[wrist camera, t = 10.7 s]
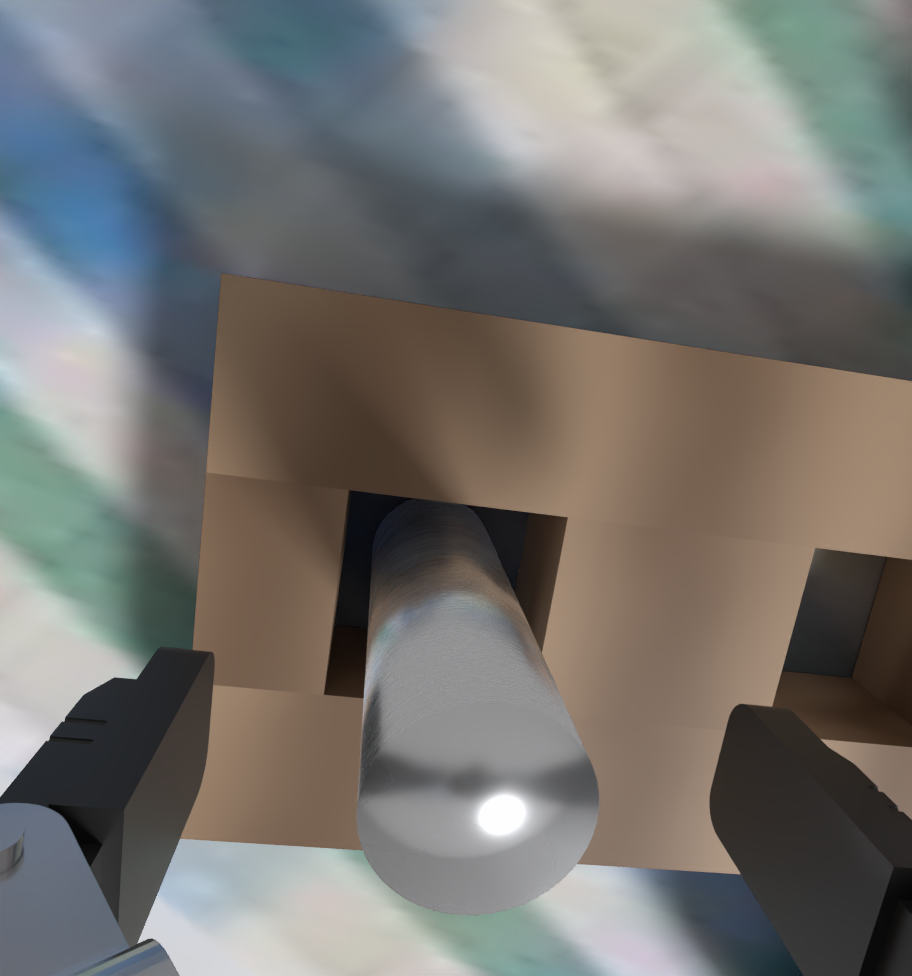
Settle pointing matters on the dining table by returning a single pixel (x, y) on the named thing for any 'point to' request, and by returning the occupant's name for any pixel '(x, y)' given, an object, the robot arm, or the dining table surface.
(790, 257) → the dining table surface
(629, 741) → the hole block
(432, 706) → the peg
